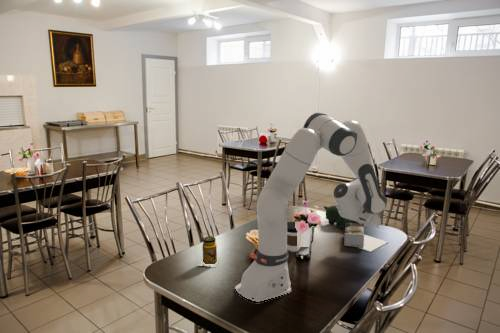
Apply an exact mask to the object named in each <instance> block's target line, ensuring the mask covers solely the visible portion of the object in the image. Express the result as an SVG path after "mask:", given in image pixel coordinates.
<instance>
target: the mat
mask: <svg viewBox="0 0 500 333" xmlns="http://www.w3.org/2000/svg"><path fill="white" fill-rule="evenodd" d="M387 244H389V242H388V241H387V240H383V239H380V238H377V237H374V236H370V235H367V234H364V247H358V248H357V249H361V250H364V251H367V252H369V253H372V252H373V251H376V250H378V249H379V248H382V247H383V246H384V245H387Z"/></svg>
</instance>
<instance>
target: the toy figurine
mask: <svg viewBox="0 0 500 333" xmlns="http://www.w3.org/2000/svg"><path fill="white" fill-rule="evenodd" d="M323 208H324V210H325V219H326V220H328V221H327V222H328V224H330V226H332V225H334V224H335V227H336V228H338V229H339V228H340V227H342V230H343V231H344V232H345V226H346V222H348V223H358V222H356V221H353V220H349V219H346V218H343V217H341V216H340V214H339V213H338V209H337V207H336V205H330V206H327V205H326V206H325V205H324V206H323ZM359 224H360V223H359Z"/></svg>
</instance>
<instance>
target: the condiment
mask: <svg viewBox="0 0 500 333" xmlns="http://www.w3.org/2000/svg"><path fill="white" fill-rule="evenodd" d="M202 240H203V242H202V259H203V262H204V263H205V264H215V263H216V262H217V260H218V259H217V257H218V254H217V253H218V252H217V242H216V237H214V236H212V235H210V236H205V237H203V239H202Z"/></svg>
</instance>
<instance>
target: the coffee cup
mask: <svg viewBox="0 0 500 333" xmlns="http://www.w3.org/2000/svg"><path fill="white" fill-rule="evenodd" d="M295 222H296V221H287V249H288V252H293V253H296V252H298V251H297V231H296V228H295Z"/></svg>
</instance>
